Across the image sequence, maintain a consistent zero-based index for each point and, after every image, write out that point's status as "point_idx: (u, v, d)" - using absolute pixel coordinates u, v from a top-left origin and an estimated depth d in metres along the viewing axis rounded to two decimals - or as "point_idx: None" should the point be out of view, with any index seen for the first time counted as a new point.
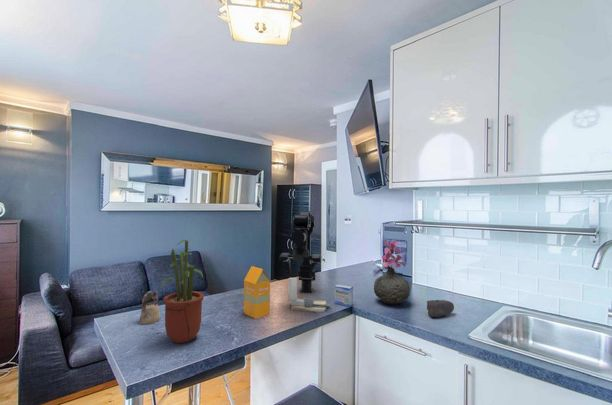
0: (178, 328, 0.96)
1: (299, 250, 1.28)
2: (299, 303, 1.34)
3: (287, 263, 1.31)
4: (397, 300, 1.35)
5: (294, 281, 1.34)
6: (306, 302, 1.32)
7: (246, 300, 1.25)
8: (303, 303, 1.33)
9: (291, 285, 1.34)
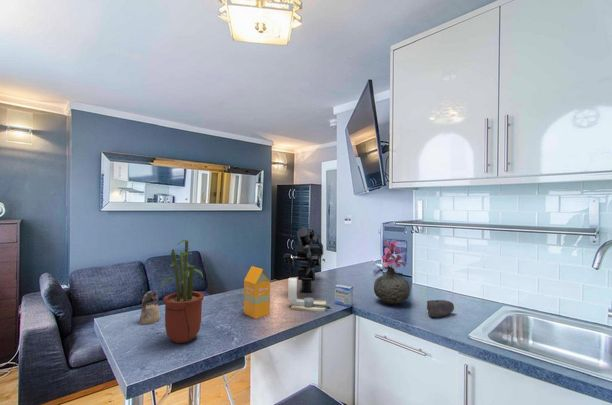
0: (178, 328, 0.96)
1: None
2: (299, 303, 1.34)
3: (291, 260, 1.49)
4: (397, 300, 1.35)
5: (294, 281, 1.34)
6: (306, 302, 1.32)
7: (246, 300, 1.25)
8: (303, 303, 1.33)
9: (291, 285, 1.34)
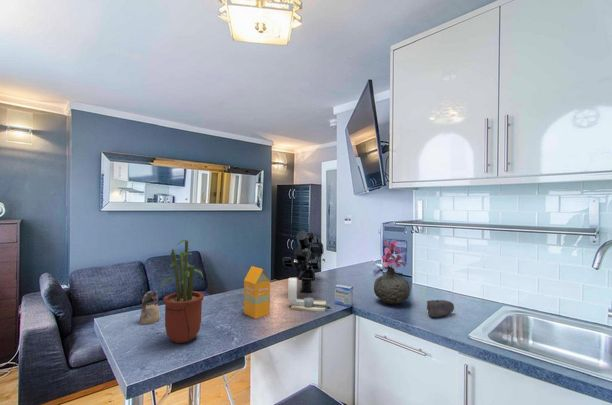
0: (178, 328, 0.96)
1: None
2: (299, 303, 1.34)
3: (296, 264, 1.46)
4: (397, 300, 1.35)
5: (294, 281, 1.34)
6: (306, 302, 1.32)
7: (246, 300, 1.25)
8: (303, 303, 1.33)
9: (291, 285, 1.34)
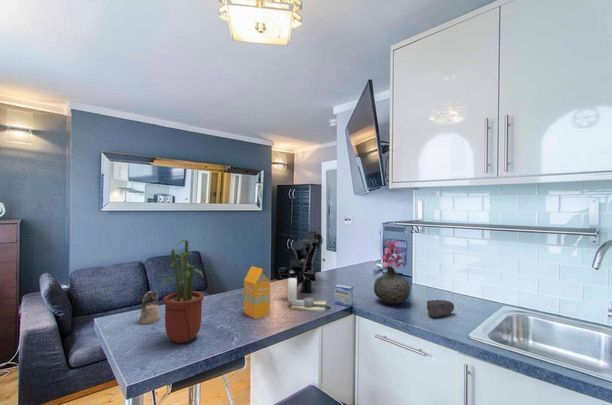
0: (178, 328, 0.96)
1: None
2: (299, 303, 1.34)
3: (293, 275, 1.41)
4: (397, 300, 1.35)
5: (294, 281, 1.34)
6: (306, 302, 1.32)
7: (246, 300, 1.25)
8: (303, 303, 1.33)
9: (291, 285, 1.34)
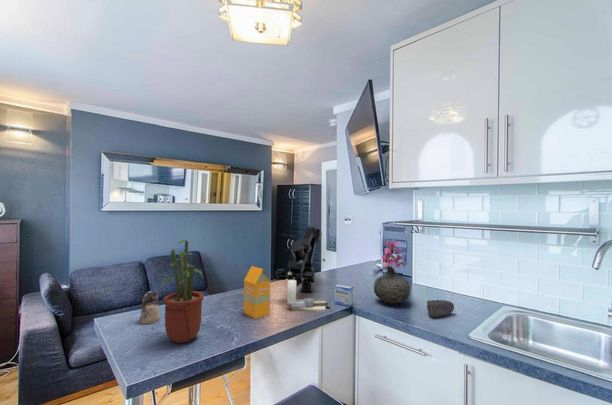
0: (178, 328, 0.96)
1: None
2: (300, 304, 1.32)
3: (291, 277, 1.38)
4: (397, 300, 1.35)
5: (295, 283, 1.31)
6: (308, 302, 1.32)
7: (246, 300, 1.25)
8: (304, 304, 1.32)
9: (292, 287, 1.30)
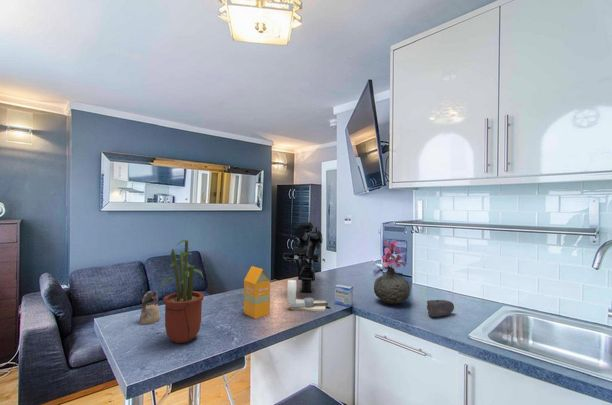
0: (178, 328, 0.96)
1: (300, 247, 1.47)
2: (300, 304, 1.32)
3: (297, 261, 1.47)
4: (397, 300, 1.35)
5: (295, 283, 1.31)
6: (308, 302, 1.32)
7: (246, 300, 1.25)
8: (304, 304, 1.32)
9: (292, 287, 1.30)
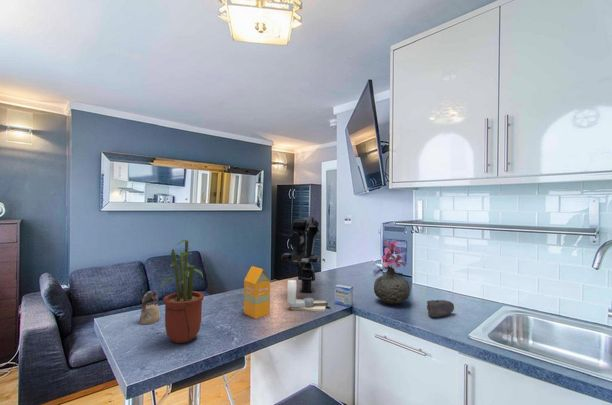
0: (178, 328, 0.96)
1: (297, 251, 1.43)
2: (300, 304, 1.32)
3: (296, 263, 1.46)
4: (397, 300, 1.35)
5: (295, 283, 1.31)
6: (308, 302, 1.32)
7: (246, 300, 1.25)
8: (304, 304, 1.32)
9: (292, 287, 1.30)
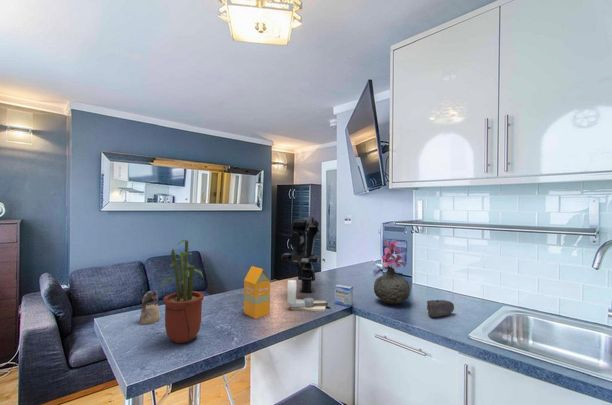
0: (178, 328, 0.96)
1: (297, 251, 1.43)
2: (300, 304, 1.32)
3: (296, 263, 1.46)
4: (397, 300, 1.35)
5: (295, 283, 1.31)
6: (308, 302, 1.32)
7: (246, 300, 1.25)
8: (304, 304, 1.32)
9: (292, 287, 1.30)
